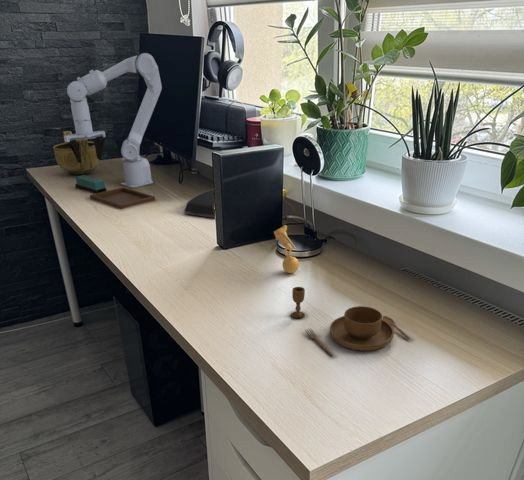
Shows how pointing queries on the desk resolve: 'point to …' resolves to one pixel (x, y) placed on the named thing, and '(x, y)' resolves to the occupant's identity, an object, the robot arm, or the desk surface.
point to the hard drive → (201, 205)
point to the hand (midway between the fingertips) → (89, 160)
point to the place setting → (354, 326)
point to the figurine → (289, 262)
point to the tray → (122, 197)
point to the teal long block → (90, 184)
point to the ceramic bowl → (69, 160)
